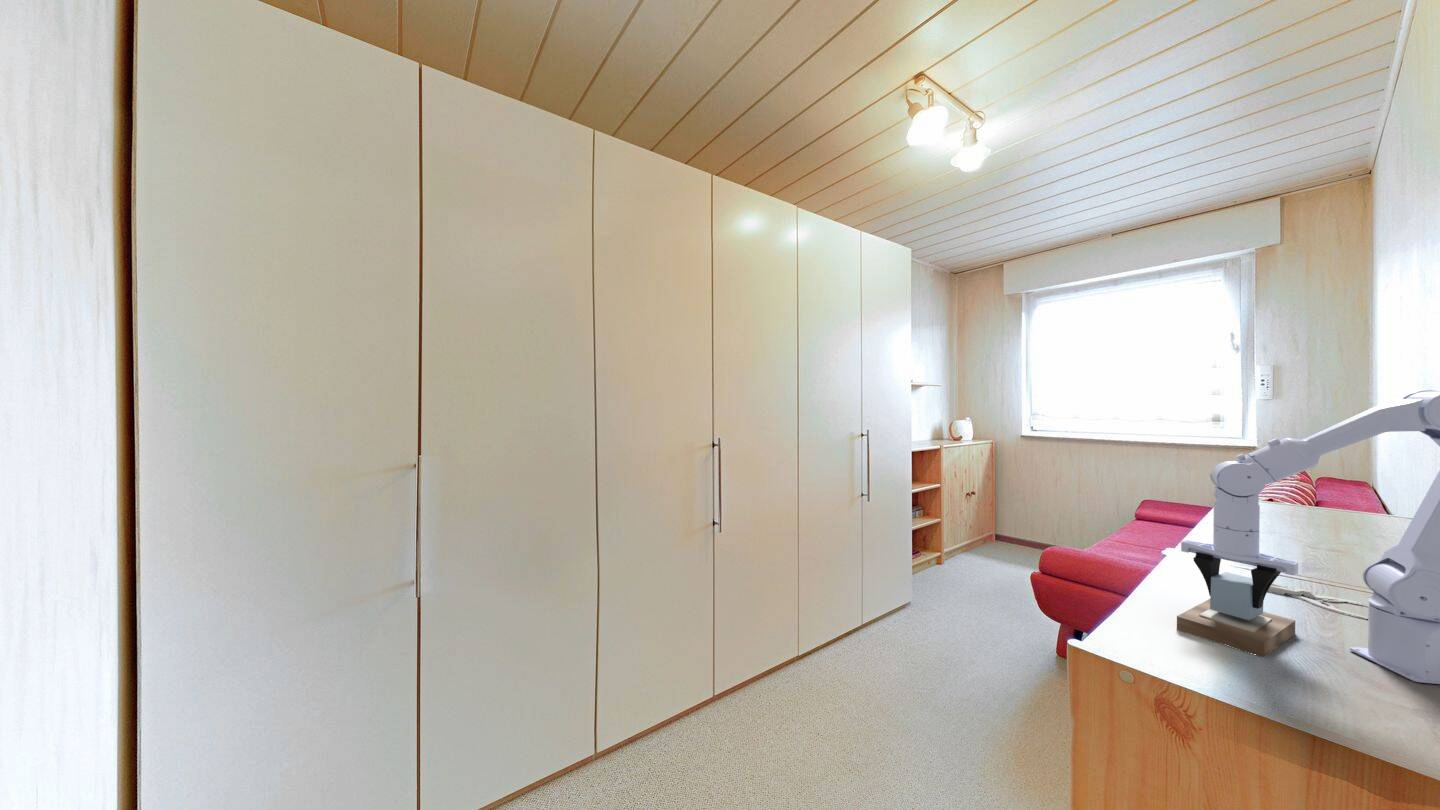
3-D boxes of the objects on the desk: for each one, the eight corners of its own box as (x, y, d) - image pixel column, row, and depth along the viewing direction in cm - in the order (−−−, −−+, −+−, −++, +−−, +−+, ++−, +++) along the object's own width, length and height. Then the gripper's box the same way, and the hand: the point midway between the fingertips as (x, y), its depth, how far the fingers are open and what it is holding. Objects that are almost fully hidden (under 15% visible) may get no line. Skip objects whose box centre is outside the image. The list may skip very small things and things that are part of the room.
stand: (1211, 610, 96) (1211, 596, 96) (1295, 633, 86) (1295, 618, 86) (1176, 629, 89) (1176, 614, 89) (1263, 657, 79) (1263, 641, 79)
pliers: (1371, 614, 91) (1256, 587, 104) (1371, 623, 91) (1255, 594, 104) (1383, 603, 95) (1271, 578, 109) (1383, 611, 95) (1271, 585, 109)
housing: (1248, 620, 84) (1250, 586, 84) (1209, 609, 88) (1211, 576, 88) (1264, 612, 88) (1265, 580, 88) (1226, 602, 92) (1227, 571, 92)
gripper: (1304, 534, 83) (1303, 611, 83) (1192, 515, 95) (1191, 583, 96) (1290, 540, 79) (1289, 621, 80) (1176, 520, 92) (1176, 590, 93)
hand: (1235, 601), depth 88 cm, fingers closed on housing, 5 cm apart
